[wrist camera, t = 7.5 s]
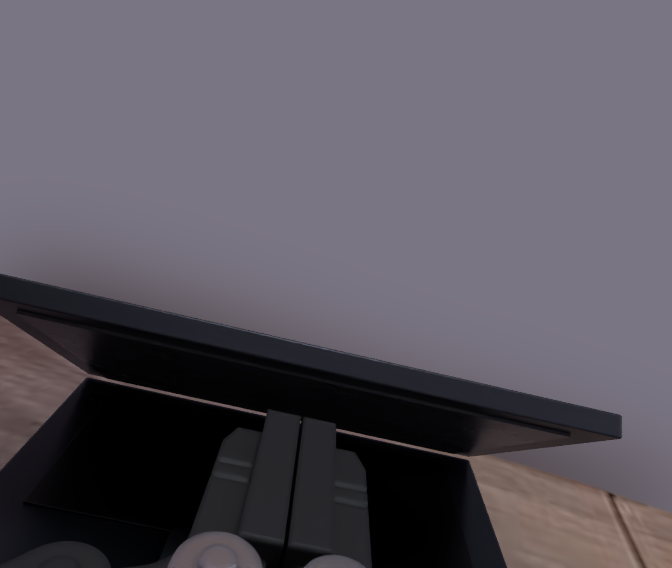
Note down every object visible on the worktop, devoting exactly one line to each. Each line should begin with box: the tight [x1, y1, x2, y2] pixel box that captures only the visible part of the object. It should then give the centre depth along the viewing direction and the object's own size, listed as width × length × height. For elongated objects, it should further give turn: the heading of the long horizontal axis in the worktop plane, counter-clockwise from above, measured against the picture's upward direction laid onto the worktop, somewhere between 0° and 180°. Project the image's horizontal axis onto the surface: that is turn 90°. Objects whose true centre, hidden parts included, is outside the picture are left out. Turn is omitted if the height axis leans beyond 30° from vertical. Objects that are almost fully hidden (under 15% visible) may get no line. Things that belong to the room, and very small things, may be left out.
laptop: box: [0, 378, 507, 568], centre depth 17 cm, size 10×16×2 cm, turn 89°
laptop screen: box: [0, 274, 622, 457], centre depth 17 cm, size 10×16×1 cm
